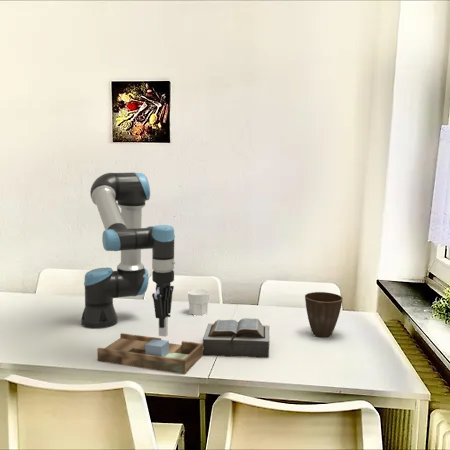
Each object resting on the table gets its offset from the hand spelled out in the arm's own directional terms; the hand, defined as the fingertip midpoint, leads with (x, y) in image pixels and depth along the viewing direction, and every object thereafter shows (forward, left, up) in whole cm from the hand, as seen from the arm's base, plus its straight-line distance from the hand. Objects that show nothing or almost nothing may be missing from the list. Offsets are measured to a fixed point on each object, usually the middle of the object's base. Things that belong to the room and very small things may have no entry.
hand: (163, 335), depth 180 cm
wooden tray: (-4, -1, -9) cm, 10 cm away
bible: (+21, +19, -9) cm, 30 cm away
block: (0, -5, -6) cm, 7 cm away
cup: (-8, +55, -9) cm, 57 cm away
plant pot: (+50, +44, -9) cm, 68 cm away
